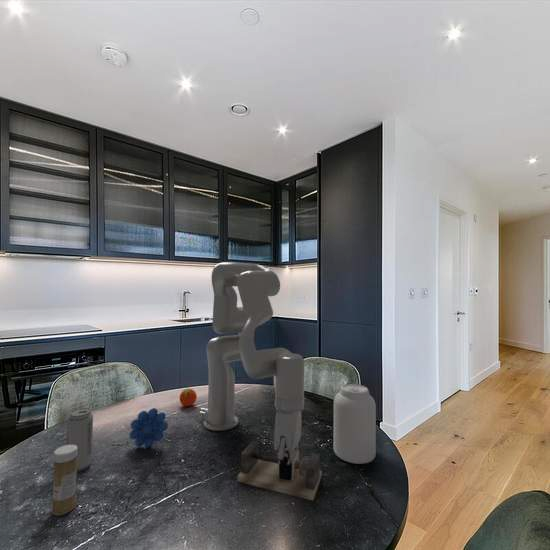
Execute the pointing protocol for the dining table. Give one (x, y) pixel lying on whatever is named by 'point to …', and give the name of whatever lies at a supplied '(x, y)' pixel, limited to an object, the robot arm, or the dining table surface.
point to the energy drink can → (81, 436)
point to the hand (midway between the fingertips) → (288, 471)
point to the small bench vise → (266, 470)
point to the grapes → (148, 428)
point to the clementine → (188, 397)
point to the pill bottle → (64, 479)
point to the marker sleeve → (293, 462)
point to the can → (354, 424)
